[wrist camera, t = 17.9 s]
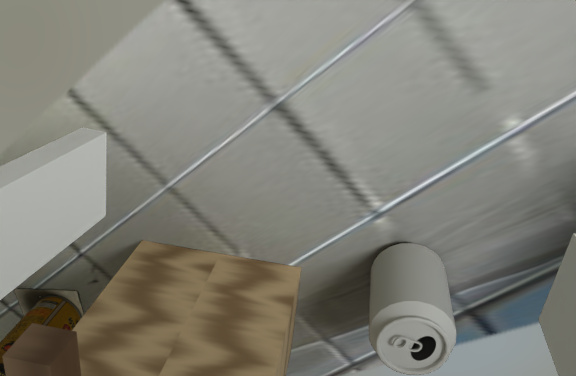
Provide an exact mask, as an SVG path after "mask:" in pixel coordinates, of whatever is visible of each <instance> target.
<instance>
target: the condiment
mask: <svg viewBox="0 0 576 376" xmlns="http://www.w3.org/2000/svg"><path fill="white" fill-rule="evenodd" d="M14 292H15V294H16V296H17V299H18V302H19V304H20V307H21V310H22V313H23V315H24V317H23V318H22V319H21V320H20V322H19V323H18V324H17V325H16V326H15V327H14V328H13V329H12V330H11V331H10V332H9V333H8V334H7V336H6V337H5V338H4V339H3V340H2V341H1V342H0V376H6V374H5V369H4V363H3V358H2V356H3V355H4V354H5V353H6V352H7V351H8V349H9V348H10V347H11V346H12V345H13V344H14V343H15V342H16V340H17V339H18V338H19V337H20V336H21V335H22V334H23V333H24V332H25V330H26V329H27V328H28V327H29V326H30V325H31V324H32V323H34V324H40V325H45V326H50V327H55V328H60V329H66V330H71V331H72V330H73V328H74V327H75V326H76V324H77V323H78V322H79V321H80V319H81V318H82V317H83V316H84V313H83V310H82V306H81V303H80V301H79V297H78V294H77V291H66V290H36V289H14ZM39 296H40V297H39Z"/></svg>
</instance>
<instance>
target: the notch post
mask: <svg viewBox="0 0 576 376" xmlns="http://www.w3.org/2000/svg"><path fill="white" fill-rule="evenodd" d="M300 275H301V267H295V266H289V265H283V264H277V263H271V262H266V261H260V260H254V259H248V258H242V257H236V256H230V255H225V254H219V253H213V252H207V251H201V250H195V249H190V248H184V247H178V246H172V245H166V244H160V243H154V242H149V241H143V240H142V241H141V242H140V244H139V245H138V246H137V248H136V249H135V250H134V251H133V253H132V254H131V255H130V257H129V258H128V259H127V260H126V262H125V263H124V264H123V266H122V267H121V268H120V269H119V271H118V272H117V273H116V275H115V276H114V277H113V278H112V280H111V281H110V282H109V283H108V285H107V286H106V287H105V289H104V290H103V291H102V292H101V294H100V295H99V296H98V298H97V299H96V300H95V301H94V303H93V304H92V305H91V307H90V308H89V309H88V310H87V312H86V313H85V314H84V316H83V317H82V318H81V319H80V321H79V322H78V323H77V324H76V326H75V327H74V328H73V330H72V331H76V332H77V340H78V349H79V359H80V368H81V376H286V371H287V366H288V362H289V357H290V353H291V346H292V338H293V330H294V322H295V314H296V306H297V298H298V290H299V282H300Z"/></svg>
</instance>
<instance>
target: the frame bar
mask: <svg viewBox="0 0 576 376" xmlns="http://www.w3.org/2000/svg"><path fill="white" fill-rule="evenodd" d="M2 358H3V363H4V369H5V374H6V376H81V368H80V359H79V349H78V340H77V332H76V331H71V330H66V329H60V328H55V327H50V326H45V325H40V324H34V323H32V324H31V325H30V326H29V327H28V328H27V329H26V330H25V332H24V333H23V334H22V335H21V336H20V337H19V338H18V339H17V340H16V342H15V343H14V344H13V345H12V346H11V347H10V348H9V349H8V351H7V352H6V353H5V354H4V355H3V356H2Z"/></svg>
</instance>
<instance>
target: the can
mask: <svg viewBox="0 0 576 376" xmlns="http://www.w3.org/2000/svg"><path fill="white" fill-rule="evenodd" d="M369 340H370V342H371V345H372V347H373V349H374V350H375V351H376V353H377V354H378V356H379V358H380V359H381V361H382V362H383V363H384V364H385V365H386V366H388V367H389V368H391V369H393V370H395V371H396V372H400V373H403V374H408V375H421V374H426V373H430V372H432V371H434V370H436V369H438V368H440V367H441V366H442V365H443V364H444V363H445V362H446V361H447V359H448V357H449V355H450V353H451V352H452V350H453V348H454V345H455V343H456V327H455V321H454V316H453V310H452V305H451V299H450V294H449V288H448V283H447V277H446V271H445V268H444V265H443V263H442V260H441V259H440V258H439V257H438V256H437V254H436V253H435V252H433V251H432V250H430V249H428V248H427V247H425V246H422V245H418V244H414V243H401V244H397V245H394V246H390V247H388V248H387V249H385V250H384V251H382V252H381V253H380V254H379V255H378V256H377V258H376V259H375V260H374V262H373V265H372V268H371V285H370V311H369Z"/></svg>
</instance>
